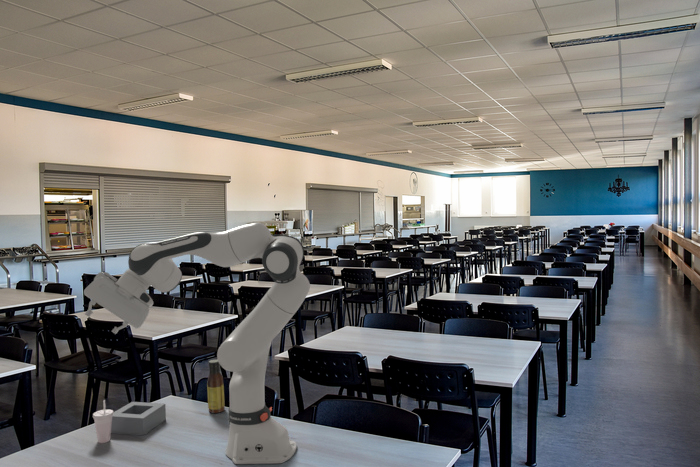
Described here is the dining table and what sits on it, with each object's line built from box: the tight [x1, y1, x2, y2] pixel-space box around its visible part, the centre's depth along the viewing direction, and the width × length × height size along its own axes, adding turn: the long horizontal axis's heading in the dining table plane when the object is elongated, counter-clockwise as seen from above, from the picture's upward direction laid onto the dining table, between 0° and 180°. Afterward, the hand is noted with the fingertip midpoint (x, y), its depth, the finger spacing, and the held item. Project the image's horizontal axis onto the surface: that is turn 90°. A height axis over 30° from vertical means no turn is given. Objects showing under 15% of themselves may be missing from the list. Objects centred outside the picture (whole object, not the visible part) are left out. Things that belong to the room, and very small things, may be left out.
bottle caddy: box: [111, 401, 167, 436], centre depth 185 cm, size 14×14×6 cm
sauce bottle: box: [206, 359, 226, 414], centre depth 198 cm, size 6×6×20 cm
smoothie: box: [92, 399, 114, 444], centre depth 173 cm, size 6×6×14 cm
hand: (100, 324), depth 156 cm, fingers open, 8 cm apart
